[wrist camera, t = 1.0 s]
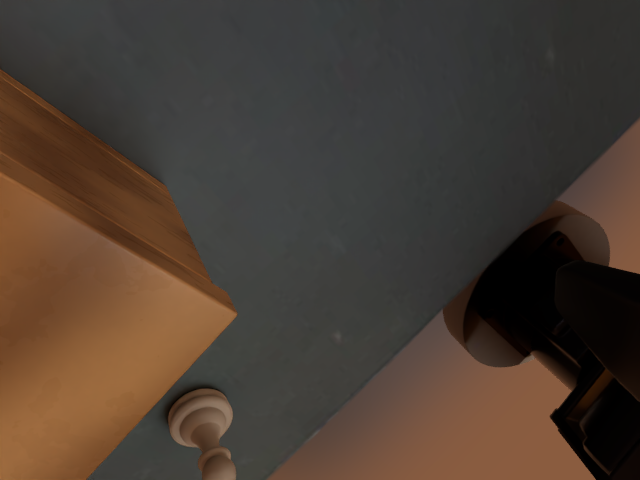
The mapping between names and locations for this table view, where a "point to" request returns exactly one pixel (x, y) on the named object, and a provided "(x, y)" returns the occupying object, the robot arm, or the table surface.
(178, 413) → the pawn
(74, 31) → the table surface
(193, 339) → the shelf
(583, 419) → the robot arm
